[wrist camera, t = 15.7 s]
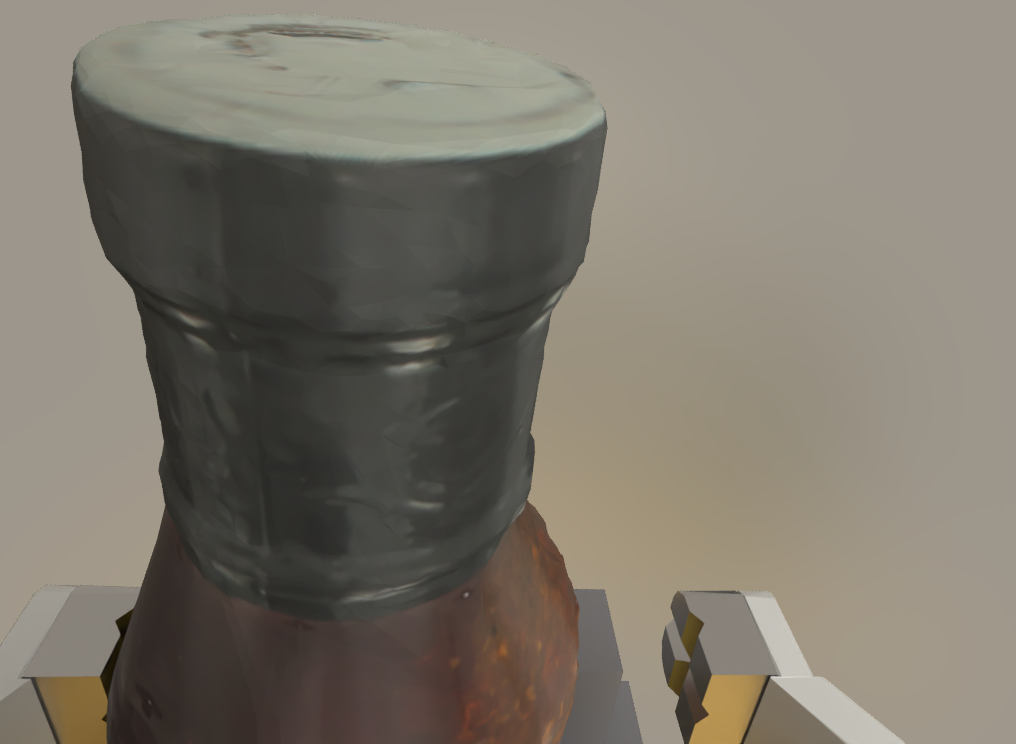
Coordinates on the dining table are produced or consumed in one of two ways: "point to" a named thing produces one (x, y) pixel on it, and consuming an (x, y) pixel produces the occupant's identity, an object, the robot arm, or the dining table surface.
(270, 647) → the sauce bottle
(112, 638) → the robot arm
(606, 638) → the kitchen scale
